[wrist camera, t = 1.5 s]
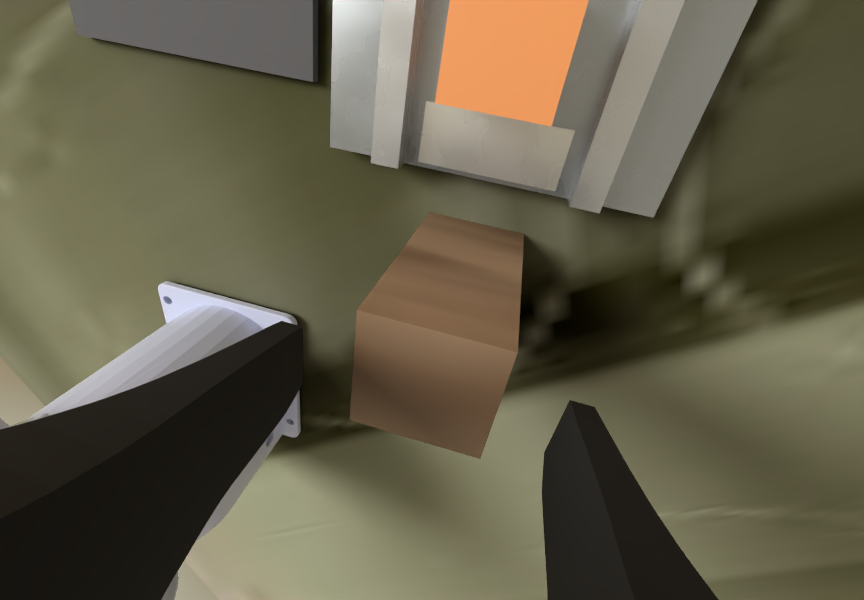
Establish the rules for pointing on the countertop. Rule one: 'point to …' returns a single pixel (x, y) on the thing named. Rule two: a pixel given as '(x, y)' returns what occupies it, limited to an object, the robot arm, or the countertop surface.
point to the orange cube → (508, 56)
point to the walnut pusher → (440, 335)
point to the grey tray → (576, 112)
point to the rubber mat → (212, 30)
